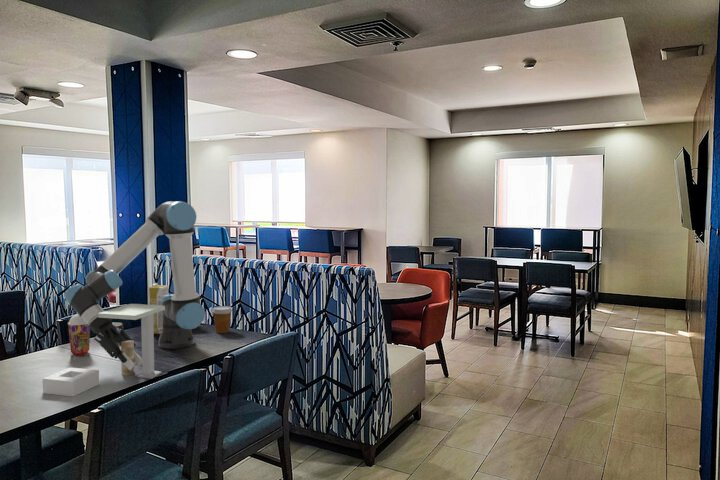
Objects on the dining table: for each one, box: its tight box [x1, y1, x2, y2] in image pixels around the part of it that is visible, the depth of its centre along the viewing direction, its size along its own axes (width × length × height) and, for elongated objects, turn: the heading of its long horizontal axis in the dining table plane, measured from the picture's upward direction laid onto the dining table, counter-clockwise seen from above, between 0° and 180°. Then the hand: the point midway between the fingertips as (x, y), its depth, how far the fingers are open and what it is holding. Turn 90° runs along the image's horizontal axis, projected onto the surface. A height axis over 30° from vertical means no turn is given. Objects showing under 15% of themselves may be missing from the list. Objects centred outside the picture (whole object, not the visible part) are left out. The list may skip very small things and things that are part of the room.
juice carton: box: [147, 283, 170, 335], centre depth 254 cm, size 9×8×24 cm
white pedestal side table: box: [98, 303, 165, 380], centre depth 192 cm, size 17×18×24 cm
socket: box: [42, 367, 100, 397], centre depth 178 cm, size 12×12×5 cm
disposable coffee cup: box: [211, 305, 233, 334], centre depth 257 cm, size 10×10×12 cm
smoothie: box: [67, 313, 91, 357], centre depth 216 cm, size 8×8×20 cm
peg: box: [120, 340, 135, 376], centre depth 194 cm, size 4×4×12 cm
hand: (136, 365), depth 193 cm, fingers closed on peg, 4 cm apart
